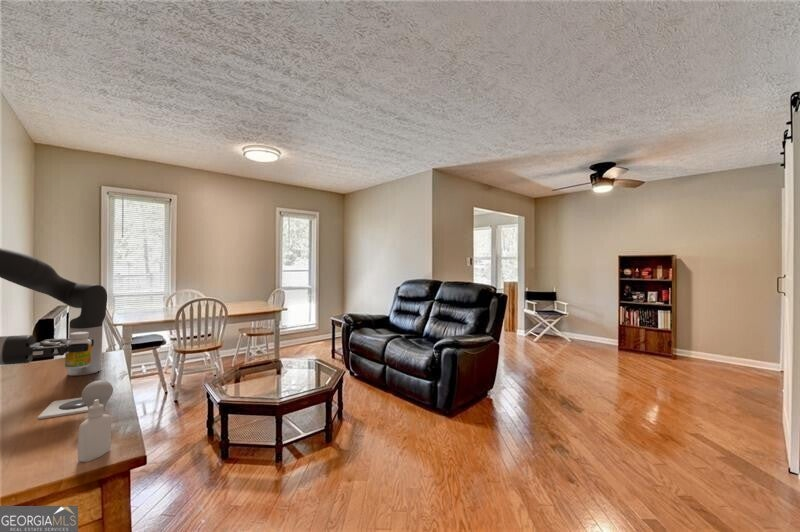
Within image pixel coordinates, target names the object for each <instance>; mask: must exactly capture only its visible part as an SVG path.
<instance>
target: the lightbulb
mask: <svg viewBox="0 0 800 532" xmlns="http://www.w3.org/2000/svg"><path fill="white" fill-rule="evenodd" d="M113 393H114V388H113V384H112V383H111V382H109V381H108V380H105V379H104V380H101V379H99V380H94V381H92V382H89V383H88V384H87V385H86V386H85V387H84V388H83V390H82V392H81V397H82V400H83V401H84V403H85V404H86V405H87V407H88V410H89V407H90V406H92V405H93V403H94V400H96V399H99V403H100V404H103V405H104V410H103V414H104V413H105V411H106V406H107V404H108V401H109V400H110V399H111V397H112V396H113Z"/></svg>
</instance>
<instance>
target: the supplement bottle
mask: <svg viewBox="0 0 800 532" xmlns="http://www.w3.org/2000/svg"><path fill="white" fill-rule="evenodd" d="M88 336H89V332H74V333H70V339H71V340H70V341H68V342H67V343H66V344H70V345H71V344H80V343H88V344H89V349H88V350H87V351H83V352H70V353H68V354H64V356H65V358H64V360H65V361H64V368H65V369H67V370H68V369H78V368H84V367H87V366H89V365H90V363H91V345H92V342H91V340H89V339H88Z"/></svg>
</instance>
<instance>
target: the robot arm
mask: <svg viewBox="0 0 800 532" xmlns="http://www.w3.org/2000/svg"><path fill="white" fill-rule="evenodd" d="M0 278H1V279H3V280H6V281H8V282H10V283H13V284H15V285H18V286H20V287H23V288H26V289H29V290H32V291H35V292H36V293H37V292H38V293H41V294H44V295H47V296H49V297H52V298H54V299H55V300H57V301H59V302H60V303H63V304H64V305H66V306H68V307H70V308H71V307H72V308H74V309H80V314H79V315H78V316H76V317H75V318H72V319H70V321H69V326H68V327H69V329H68V332H69V333H68V336H69V337H68V338H50V339H49V338H48V339H43V340H42V341H40V342H38V341H37V340H36V337H35V336H34V335H33V334H23V335H5V336H2V335H1V336H0V366H7V365H21V364H28V363H31V362H32V361H33V360H34V359H38V358H47V357H57V356H60V357H61V356H65V354H68V353H70V352H83V351H87V350H88V349H89V344H88V343H80V344H71V345H70V344H66V343H67V342H68V341H70V340H71V339H70V333H74V332H89V336H88V339H89V340H91V342H92V345H91V363H90V365H89V366H87V367H84V368H78V369H67V375H68V376H75V377H76V376H85V375H90V374H91V375H92V374H96V373H98V371H99V372H101V370H102V361H103V360H102V359H103V356H102V355H103V328H104V327H103V325H104V320H105V318H106V315H107V305H108V304H107V303H108V292H107V290H106V288H105V287H104V286H103V285H101V284H95V283H79V282H75V281H72V280H68V279H66V278H64V277H62V276H60V275H59V274H58V273H57V271H56V270H55V269H54V267H52V266H51V265H49V264H48V263H46V262H45V261H42V260H40V259H39V258H36V257H34V256H32V255H29V254H26V253H23V252H20V251H16V250H11V249H7V248H3V247H0Z"/></svg>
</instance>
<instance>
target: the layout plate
mask: <svg viewBox="0 0 800 532" xmlns="http://www.w3.org/2000/svg"><path fill="white" fill-rule="evenodd" d="M82 413H89V410H88V407H87V405H86V404H85V403H84V401H83V400H82V396H81V397H75V398H68V399H67V398H66V399H60V400H53V401H52V402H51V403H50V404H49V405H48V406H47V407H46V408H45V409H44V410H43V411H42V412H41V413H40V414H39V415H38V416H37V420H42V419H48V418H55V417H62V416H63V417H64V416H68V415H69V416H70V415H75V414H82Z"/></svg>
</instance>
